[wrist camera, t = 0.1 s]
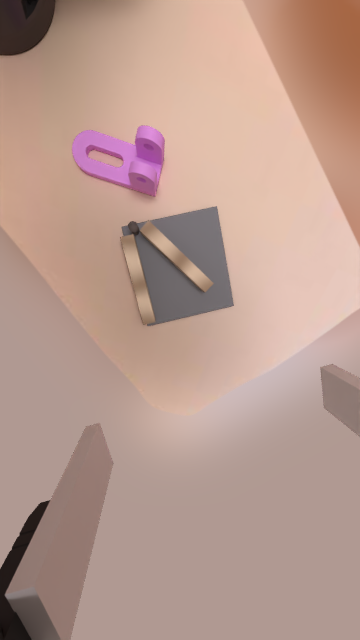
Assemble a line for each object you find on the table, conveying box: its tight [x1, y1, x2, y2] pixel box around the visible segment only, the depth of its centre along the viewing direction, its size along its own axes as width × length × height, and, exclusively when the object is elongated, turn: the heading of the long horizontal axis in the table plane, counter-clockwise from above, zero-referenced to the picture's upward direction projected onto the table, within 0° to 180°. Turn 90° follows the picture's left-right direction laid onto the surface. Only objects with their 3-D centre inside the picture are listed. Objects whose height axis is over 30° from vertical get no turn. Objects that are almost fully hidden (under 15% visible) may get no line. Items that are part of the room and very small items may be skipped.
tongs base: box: [120, 221, 156, 325], centre depth 36 cm, size 16×3×3 cm, turn 13°
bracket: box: [72, 126, 165, 196], centre depth 31 cm, size 13×6×7 cm, turn 75°
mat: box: [122, 206, 234, 326], centre depth 38 cm, size 17×16×1 cm
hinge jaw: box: [140, 220, 214, 292], centre depth 36 cm, size 14×2×2 cm, turn 48°
